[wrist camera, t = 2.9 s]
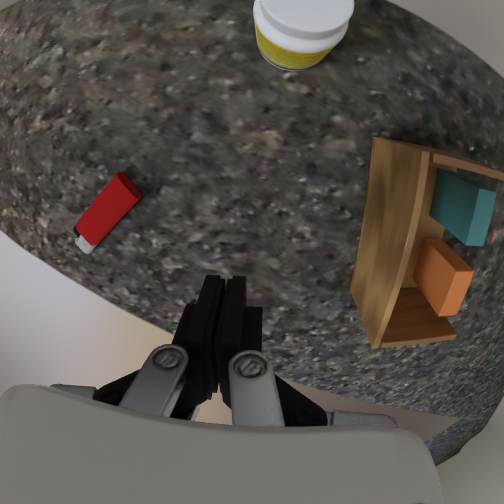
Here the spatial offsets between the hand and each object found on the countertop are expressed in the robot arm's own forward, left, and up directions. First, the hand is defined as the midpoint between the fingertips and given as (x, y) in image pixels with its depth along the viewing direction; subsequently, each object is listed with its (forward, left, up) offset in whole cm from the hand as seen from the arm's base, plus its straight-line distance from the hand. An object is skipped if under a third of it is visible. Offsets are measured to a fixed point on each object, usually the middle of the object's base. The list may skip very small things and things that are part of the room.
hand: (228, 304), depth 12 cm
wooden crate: (0, +13, -10) cm, 17 cm away
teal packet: (-3, +16, -10) cm, 19 cm away
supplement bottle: (-13, +3, -10) cm, 17 cm away
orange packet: (+3, +16, -10) cm, 19 cm away
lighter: (-1, -12, -10) cm, 16 cm away
